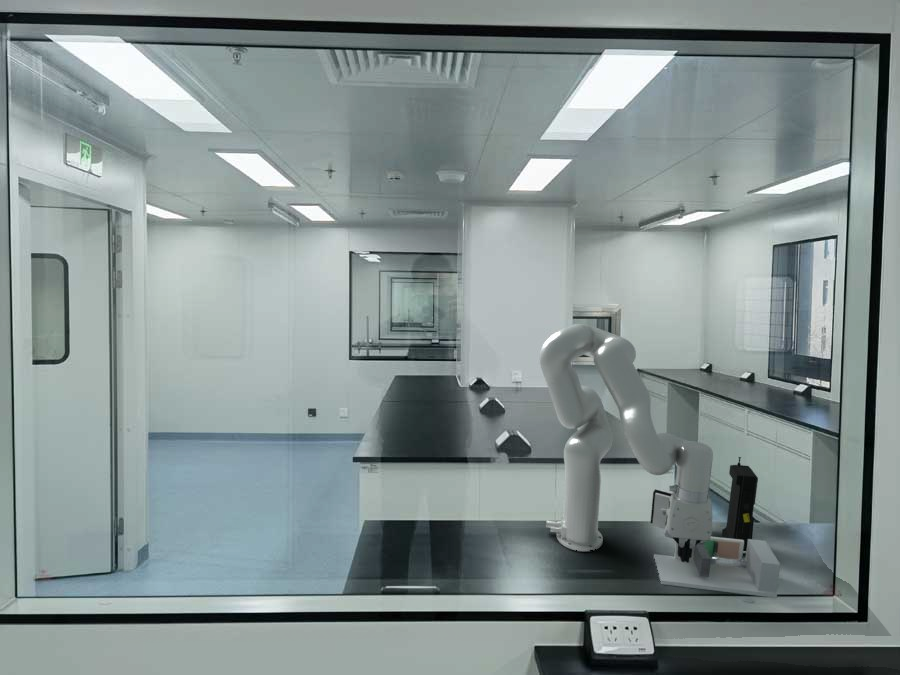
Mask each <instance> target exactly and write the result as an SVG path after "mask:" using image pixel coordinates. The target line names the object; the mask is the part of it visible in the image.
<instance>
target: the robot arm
mask: <svg viewBox="0 0 900 675" xmlns="http://www.w3.org/2000/svg"><path fill="white" fill-rule="evenodd" d="M636 352H637V351H636V348H635V346H634V345H633V343H632V342H631V341H630V340H627V339H626V338H625V337H622V336H619V335H617V334H614V333H611V332H609V331H606V330H604V329H601V328H598V327H596V326H593V325H590V324H586V323H574V324H571V325H569V326H567V327H564V328H561V329H560V330H557V331H556V332H554V333H553V334H551V335H550V336H549V337H548V338H547V339H546V340H545V341H544V343H543V344H542V346H541V348H540V351H539V365H540V369H541V371H542V374H543V376H544V379H545V383H546V385H547V387H548V392H549V396H550V399H551V402H552V405H553V408H554V410H555V414H556V417H557V419H558V422H559V423H560V424H561V425H562V426H563V427H564V428H566V429H568V430H576V429H577V430H576V432H574V433H573V434H572V435H571V436H570V437H569V439H567V441H566V443H565V445H564V449H563V461H564V491H563V492H564V496H563V508H562V509H563V511H562V513H563V514H562V515H563V516H561V520H557V521H553V520H548V519H547V520H546V522H545V523H546V525H545V528H550V533H556V538H557V541H558V542H559V544H560V545H563V546H564V547H565V548H567V549H569V550H572V551H576V550H577V551H576V552H591V551H590V550H593V551H596V550H598V549H599V548H600V547H602V545H603V543H604V541H603V540H604V538H603V535H602V533H601V532H600V531H599V530H598V528H599V515H600V514H599V513H600V501H601V483H602V482H601V481H602V477H601V476H602V475H601V467H600V466H601V461H602V459H603V458H604V457H605V455H607V454H608V452H609V451H610V450H611V448H612V445H613V441H614V440H613V437H614V436H613V433H612V429H611V426H610V422H609V420H608V416H607V413H606V410H605V407H604V403H603V401H602V398H600V396H599V394H598V393H597V392H596V390H594V389H593V388H592V387H590V386H586V385H581V382H580V378H579V376H578V373H577V371H576V370H575V368H574V366H573V365H572V362H573V361H574V360H575V359H576V360H577V359H578V358H580V357H581V356H583V355H584V356H586V357H589V358H592V359H593V364H594V366H595V368H596V370H597V372H598V373H599V374H598V375H599V376H600V378H601V379H602V381H603V383H604V385H605V387H606V388H607V390H608V392H609V393H610V395H611V397H612V399H613V401H614V403H615V404H616V406H617V409H618V412H619V417H620V421H621V424H622V428H623V432H624V436H625V438H626V441H627V443H628V446H629V447H630V449H631V451H632V453H633V455H634V456H635V458H636V460H637V462H638V463H639V465H640V466H641V467H642V468H643V469H644V470H645V471H646V473H647V472H648V473H649V474H651V475H654V476H661V475H662V476H663V475H665V474H667V473H668V472H670V470H671V469H672V468H673V467H674V465H675V466H676V474H675V481H674V484H672V485H668V492H671V493H672V495H671V497H670V500H669V504H668V508H667V512H666V518H665V526H666V527H665V529H663V536H664V537H666V538H669V539H670V540H671V539H672V540H674V541H675V543H676V542H677V543H678V557H680V558H681V561H682V562H686V563H689V558H691V557H692V549H693V548H694V547H695V545H697V544H698V543H700V542H705V541H710V538H711V537H712V533H713V505H712V504H713V503H712V500H711V499H710V498H709V494H710V493H709V492H710V484H711V475H712V468H713V461H714V460H713V458H714V452H713V449H712V447H710V445H708V444H705V443H704V442H699V441H693V440H691V441H690V440H687V439H685V438H681V437H680V436H679V437H678V436H677V435H674V434H671V433H668V432H659V433H657V431H656V429H655V426H654V423H653V420H652V414H651V406H652V405H651V402H652V401H651V394H650V391H649V389H648V388H647V385H646V384H645V382H644V381H643V379H642V377H641V376H640V373H639V372H638V370H637V369H636V367H635V365H634V362H635V360H636V356H637V353H636ZM684 539H687V541H686V542H685V543H684ZM595 549H596V550H595Z"/></svg>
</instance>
